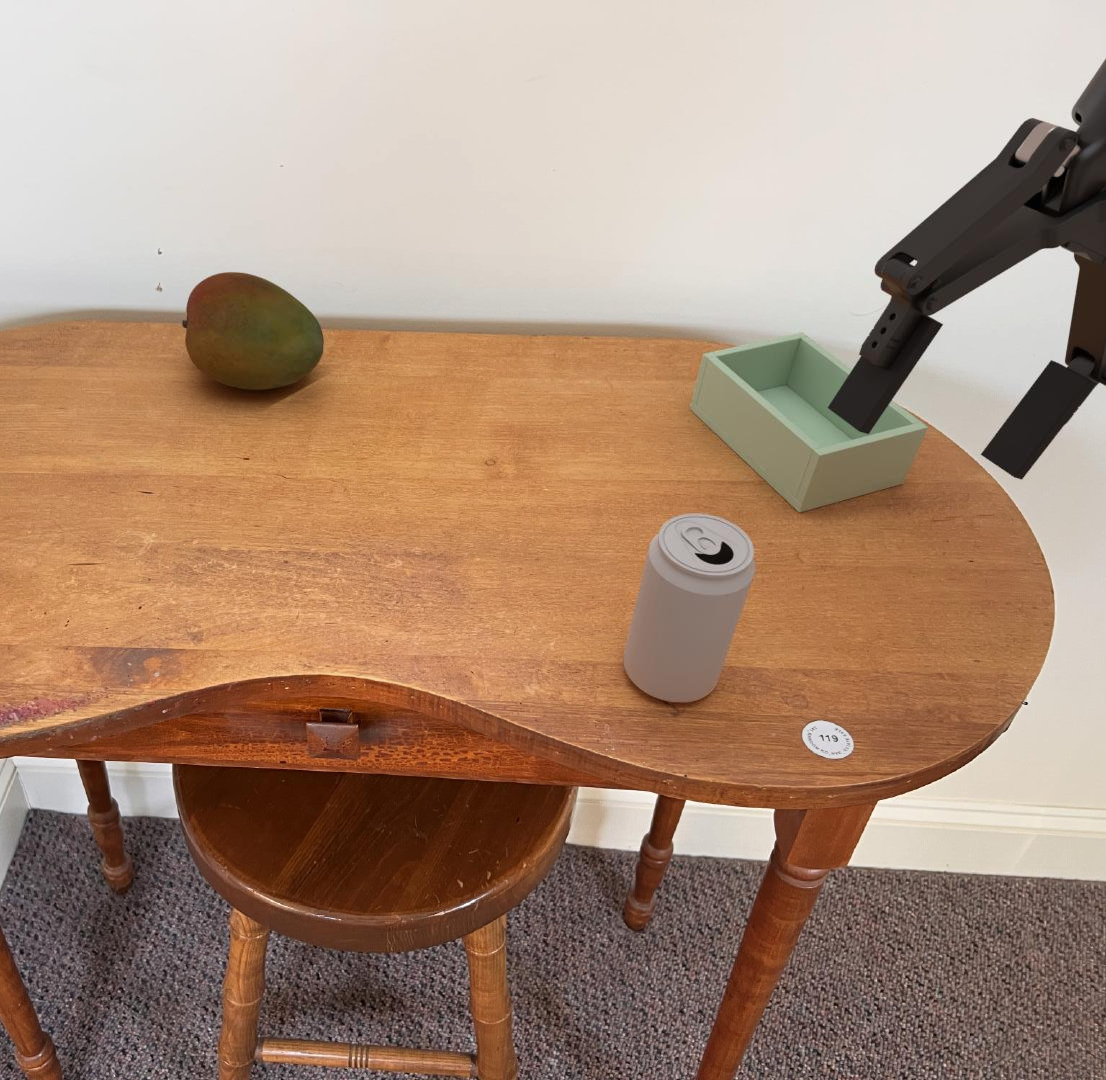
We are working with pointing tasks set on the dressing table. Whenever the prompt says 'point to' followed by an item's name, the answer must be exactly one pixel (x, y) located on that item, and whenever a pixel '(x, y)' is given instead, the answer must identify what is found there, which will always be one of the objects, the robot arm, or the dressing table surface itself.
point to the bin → (800, 422)
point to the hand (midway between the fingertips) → (927, 445)
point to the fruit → (250, 332)
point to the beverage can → (688, 606)
